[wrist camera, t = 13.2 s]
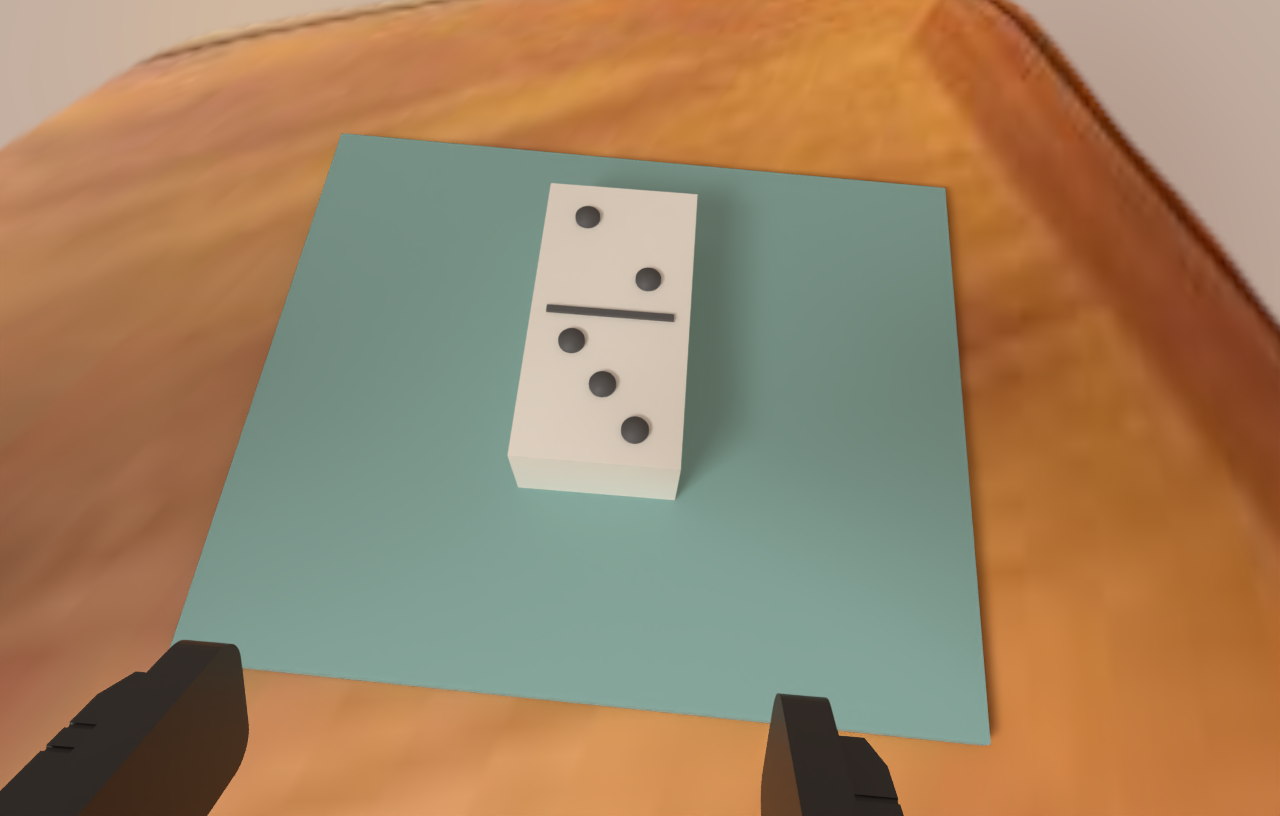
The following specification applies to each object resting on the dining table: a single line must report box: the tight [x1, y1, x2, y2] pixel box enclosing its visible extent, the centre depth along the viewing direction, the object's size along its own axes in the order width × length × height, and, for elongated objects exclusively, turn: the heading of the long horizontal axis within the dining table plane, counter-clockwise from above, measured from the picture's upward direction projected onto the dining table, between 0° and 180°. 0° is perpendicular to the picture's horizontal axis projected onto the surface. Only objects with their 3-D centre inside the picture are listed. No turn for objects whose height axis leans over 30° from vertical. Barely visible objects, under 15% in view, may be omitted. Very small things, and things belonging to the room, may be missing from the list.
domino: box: [507, 183, 698, 500], centre depth 29 cm, size 6×3×11 cm
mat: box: [170, 133, 991, 746], centre depth 30 cm, size 26×22×1 cm
